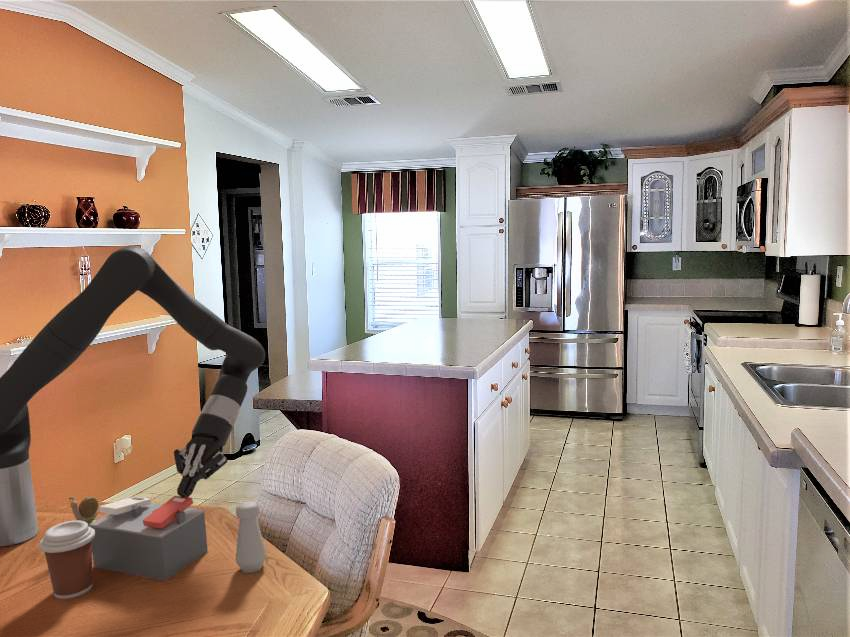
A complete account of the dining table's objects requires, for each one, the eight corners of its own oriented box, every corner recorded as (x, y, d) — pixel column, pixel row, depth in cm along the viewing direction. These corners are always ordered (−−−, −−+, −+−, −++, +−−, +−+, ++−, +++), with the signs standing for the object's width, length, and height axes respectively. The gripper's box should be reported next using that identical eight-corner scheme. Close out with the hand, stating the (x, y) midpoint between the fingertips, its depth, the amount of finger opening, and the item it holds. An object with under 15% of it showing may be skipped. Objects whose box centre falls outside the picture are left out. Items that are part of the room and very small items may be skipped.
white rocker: (99, 512, 129) (99, 505, 129) (134, 502, 138) (134, 495, 138) (116, 514, 128) (116, 508, 128) (150, 504, 136) (150, 498, 136)
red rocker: (143, 525, 126) (142, 519, 125) (175, 500, 134) (174, 495, 133) (161, 528, 124) (160, 522, 124) (193, 503, 132) (191, 497, 132)
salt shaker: (258, 576, 124) (253, 511, 122) (230, 574, 125) (225, 509, 123) (271, 561, 129) (267, 498, 128) (245, 559, 131) (240, 497, 129)
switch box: (93, 567, 130) (88, 515, 129) (139, 540, 141) (135, 492, 140) (165, 581, 123) (160, 526, 122) (207, 551, 135) (203, 501, 133)
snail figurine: (67, 550, 138) (60, 495, 136) (92, 536, 144) (86, 484, 142) (85, 554, 136) (79, 499, 134) (111, 540, 142) (105, 487, 140)
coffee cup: (42, 588, 123) (34, 527, 121) (95, 571, 128) (88, 513, 127) (49, 609, 115) (41, 544, 114) (105, 590, 121) (98, 529, 119)
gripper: (182, 410, 142) (145, 485, 132) (233, 413, 137) (198, 491, 127) (201, 426, 147) (167, 500, 138) (250, 430, 143) (218, 506, 133)
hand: (182, 496), depth 132 cm, fingers closed
